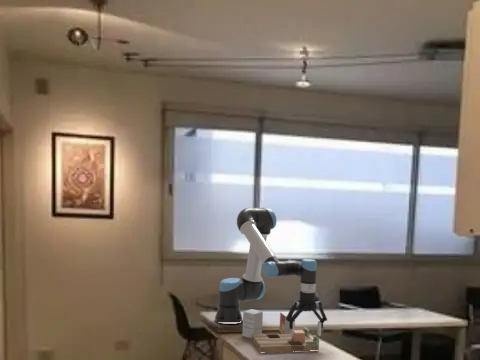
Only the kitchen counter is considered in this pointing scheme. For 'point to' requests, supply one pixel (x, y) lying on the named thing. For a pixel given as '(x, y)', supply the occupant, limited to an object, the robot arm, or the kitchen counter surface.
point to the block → (299, 335)
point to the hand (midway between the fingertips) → (305, 335)
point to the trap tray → (284, 342)
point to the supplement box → (252, 322)
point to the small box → (284, 323)
